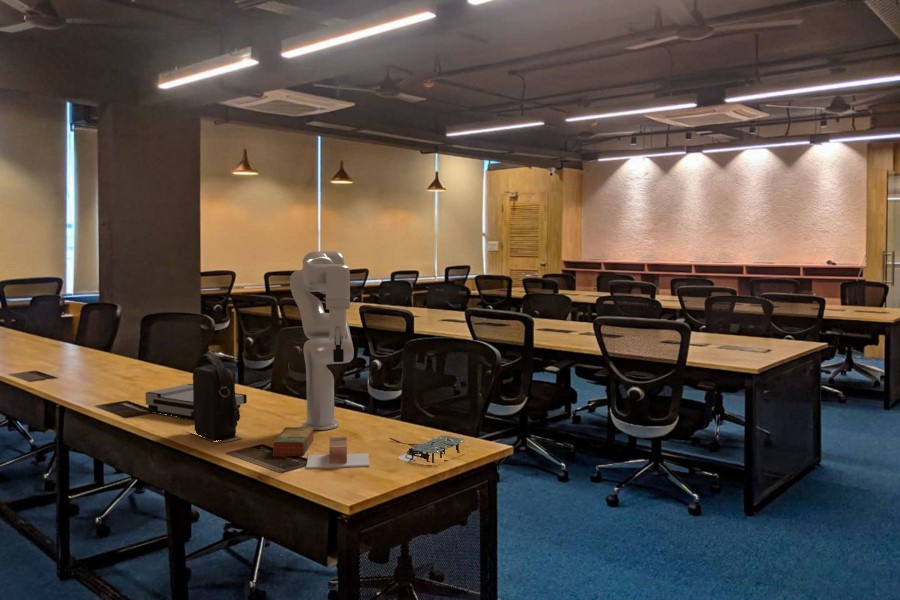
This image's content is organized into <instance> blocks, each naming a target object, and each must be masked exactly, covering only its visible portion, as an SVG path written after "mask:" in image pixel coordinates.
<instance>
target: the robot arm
mask: <svg viewBox="0 0 900 600" xmlns="http://www.w3.org/2000/svg"><path fill="white" fill-rule="evenodd" d="M350 273H351V271H350V267H349V266H348V265H346V264H345V259H344V257H343V255H342V253H340V252H339V251H330V250H329V251H326V250H325V251H324V250H323V251H316V250H315V251H309V252H308V253H306V254H305V256H304V257H303V260H302V268H301V269H298V270H295V271H293V272H292V274H291V275H290V277H289V278H290V279H289V286H290V292H291V295H292V297H293V300H294V301H295V304H296V305H297V307H298V310H299V313H300V316H301V317H300V319H301V324H302V329H303V332H304V335H305V337H306V338H307V339H308V340H307V341H305V342H304V345H303V348H302V349H303V356H304V363H305V374H306V421H304V422H302V427H311V428H313V431H326V430H327V431H328V430H333V429H335V428H338V427H339V425H340V424H339V421H338V420H336V419H335V378H334V374H333V373H332V371H331V370H330V369H329V368H328V367H327V365H334V364H335V365H336V364H337V365H338V364H348V363H350V362H352V360H353V359H354V354H355V351H354V350H355V348H354V344H353V340H352V335H351V331H350V326H349V323H348V319H347V310H350V309H351V286H350V285H351V281H350V280H351V279H350V278H351V277H350V276H351V274H350ZM311 292H312V293H315V292H316V293H318V292H321V293H322V292H325V309H324V306H323V303H322V302H321V300H320V299H319V298H318V297H317V296H315V295H314V294H312V293H311ZM325 310H329V312H325Z"/></svg>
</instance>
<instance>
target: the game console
mask: <svg viewBox="0 0 900 600" xmlns="http://www.w3.org/2000/svg"><path fill="white" fill-rule="evenodd" d="M247 397H248V396H247V394H246V393H244V394H243V393H237V392H235V398H236V404H237V405H238V408H239V409H241V405H245V404H247V403H248V402H247ZM145 405H147V406H148V410H151V413H152V412H156V413H161V414H167V415H172V416H177V417H182V418H181V419H183V418H187V419H186V420H189V419H192V420H191V421H194V407H193V406H194V405H193V383H187V384H181V385H177V386H176V385H175V386H172V387H166V388H162V389H157V390H152V391H148V392H147V391H146V392H145ZM177 417H176V418H177Z"/></svg>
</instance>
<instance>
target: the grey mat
mask: <svg viewBox="0 0 900 600" xmlns="http://www.w3.org/2000/svg"><path fill="white" fill-rule="evenodd" d="M369 457H370V455H369V452H368V453H367V452H365V453H364V452H361V453H360V452H359V453H347V463H339V464H329V454H309V455H308V457H307V462H306V465H305V469H306V470H310V469H311V470H312V469H335V468H339V469H340V468H361V467H363V468H364V467H367V468H368V467H370V458H369Z"/></svg>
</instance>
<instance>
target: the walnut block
mask: <svg viewBox="0 0 900 600" xmlns="http://www.w3.org/2000/svg"><path fill="white" fill-rule="evenodd" d="M347 439H348V437H347V436H330V437H329V444H328V445H329V446H328V447H329V448H328V449H329V450H328V452H329V454H328V455H329V464H339V463H347V454H348V449H347V448H348V447H347V444H348V442H347V441H348V440H347Z"/></svg>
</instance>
